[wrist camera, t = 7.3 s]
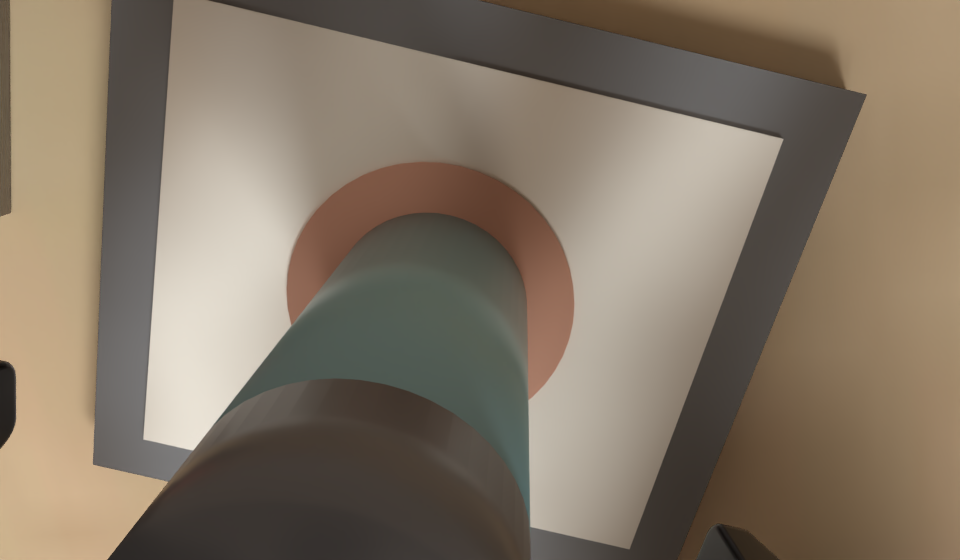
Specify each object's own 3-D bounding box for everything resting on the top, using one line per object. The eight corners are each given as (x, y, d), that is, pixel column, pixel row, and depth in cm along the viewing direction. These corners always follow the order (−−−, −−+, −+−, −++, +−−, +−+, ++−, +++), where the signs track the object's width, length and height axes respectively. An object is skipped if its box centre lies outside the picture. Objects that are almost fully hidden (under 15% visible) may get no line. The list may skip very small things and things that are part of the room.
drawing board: (847, 91, 14) (871, 95, 13) (657, 568, 18) (664, 599, 17) (138, -82, 13) (109, -90, 12) (111, 445, 17) (88, 469, 16)
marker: (548, 238, 14) (590, 566, 5) (501, 409, 15) (474, 887, 7) (352, 191, 14) (77, 450, 5) (322, 368, 15) (66, 799, 7)
